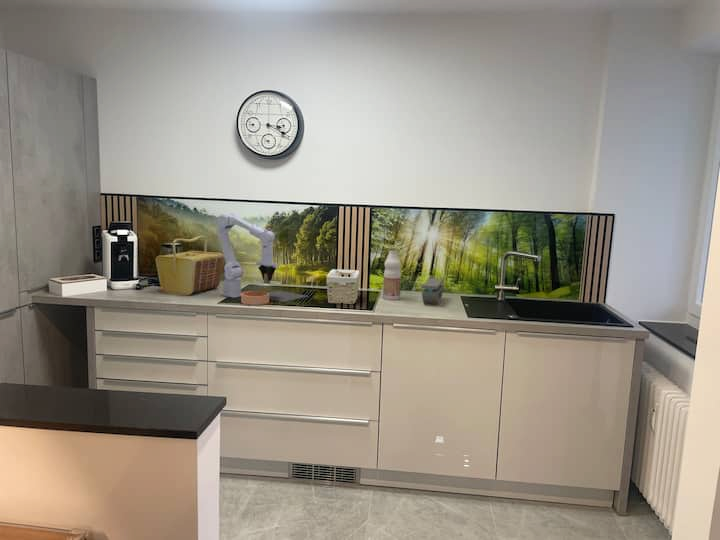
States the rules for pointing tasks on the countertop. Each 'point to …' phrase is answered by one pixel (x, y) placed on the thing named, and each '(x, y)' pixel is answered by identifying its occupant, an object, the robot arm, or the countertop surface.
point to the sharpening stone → (432, 291)
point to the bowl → (255, 298)
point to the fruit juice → (392, 276)
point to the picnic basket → (189, 270)
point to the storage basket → (342, 286)
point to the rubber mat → (284, 296)
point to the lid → (266, 282)
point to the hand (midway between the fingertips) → (267, 280)
